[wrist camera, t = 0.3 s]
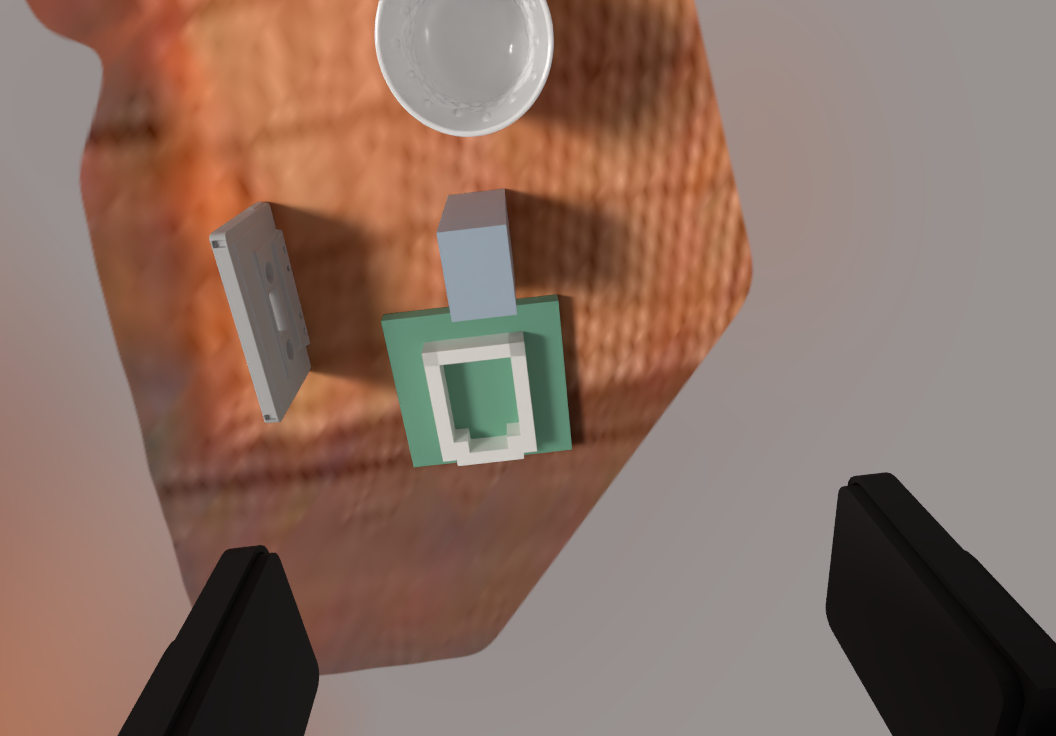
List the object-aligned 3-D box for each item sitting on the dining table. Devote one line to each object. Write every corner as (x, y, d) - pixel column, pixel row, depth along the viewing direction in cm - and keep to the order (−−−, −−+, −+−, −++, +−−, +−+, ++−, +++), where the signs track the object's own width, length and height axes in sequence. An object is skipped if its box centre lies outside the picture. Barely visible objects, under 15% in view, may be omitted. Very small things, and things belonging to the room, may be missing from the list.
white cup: (507, 136, 40) (509, 165, 31) (384, 77, 39) (350, 90, 30) (563, 3, 37) (584, -7, 28) (433, -67, 35) (411, -102, 27)
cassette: (247, 202, 42) (197, 234, 35) (276, 199, 42) (233, 231, 35) (293, 370, 47) (257, 427, 40) (319, 368, 47) (288, 424, 40)
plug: (448, 195, 42) (436, 232, 34) (504, 188, 42) (506, 224, 34) (462, 284, 44) (454, 338, 36) (515, 278, 44) (519, 331, 36)
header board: (383, 314, 45) (376, 331, 43) (557, 294, 45) (560, 310, 42) (415, 458, 51) (411, 481, 48) (570, 440, 50) (574, 463, 48)
